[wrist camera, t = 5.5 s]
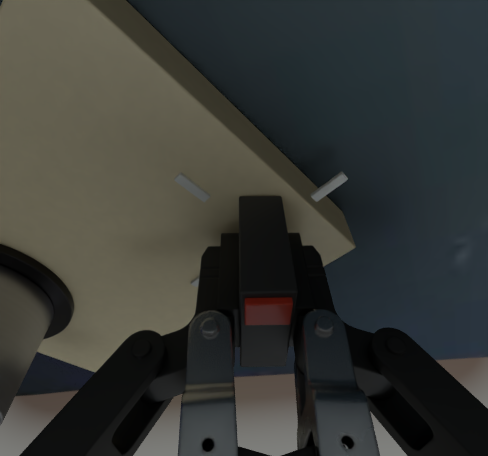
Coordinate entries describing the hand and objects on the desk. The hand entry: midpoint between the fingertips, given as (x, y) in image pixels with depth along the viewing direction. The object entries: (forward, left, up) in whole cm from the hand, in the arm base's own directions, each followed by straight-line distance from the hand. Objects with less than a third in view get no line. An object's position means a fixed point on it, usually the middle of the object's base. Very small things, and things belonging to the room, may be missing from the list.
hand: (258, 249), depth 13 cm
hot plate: (-6, +4, -3) cm, 8 cm away
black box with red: (0, 0, -1) cm, 1 cm away
